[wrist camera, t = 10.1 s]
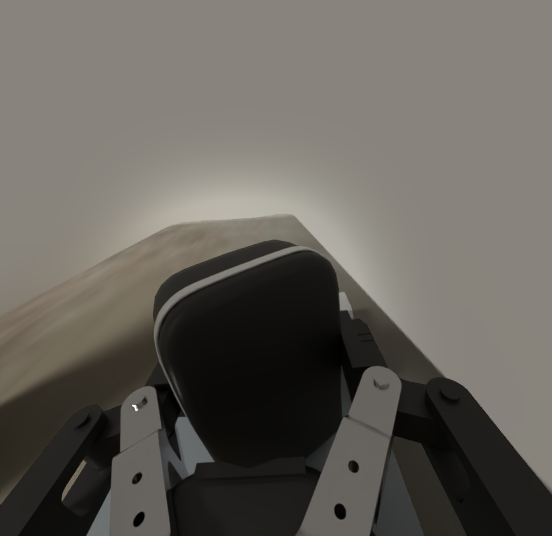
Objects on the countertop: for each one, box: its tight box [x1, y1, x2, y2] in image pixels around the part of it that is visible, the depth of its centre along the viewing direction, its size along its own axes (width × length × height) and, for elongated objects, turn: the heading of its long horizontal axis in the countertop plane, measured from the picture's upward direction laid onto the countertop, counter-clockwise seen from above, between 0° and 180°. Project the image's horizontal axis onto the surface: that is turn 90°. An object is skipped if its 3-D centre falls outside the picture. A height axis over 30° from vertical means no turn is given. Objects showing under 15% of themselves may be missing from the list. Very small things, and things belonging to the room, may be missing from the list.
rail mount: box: [87, 292, 425, 536], centre depth 16 cm, size 16×14×4 cm
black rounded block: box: [153, 240, 343, 468], centre depth 11 cm, size 7×4×11 cm, turn 122°
